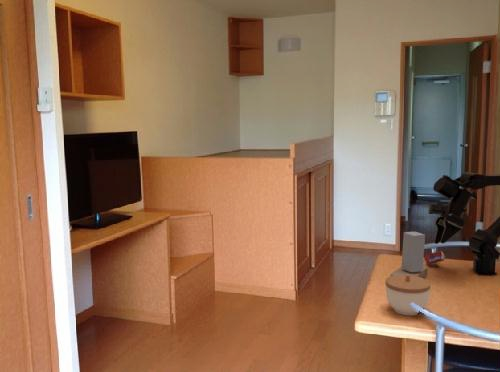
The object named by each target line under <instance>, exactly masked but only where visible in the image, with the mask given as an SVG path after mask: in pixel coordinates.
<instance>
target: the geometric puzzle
mask: <svg viewBox="0 0 500 372" xmlns="http://www.w3.org/2000/svg"><path fill="white" fill-rule="evenodd" d="M423 260H424V261H425V263H426V266H432V267H435V266H436V268H438V267H439V266H440V265H438V264H440V263H443V262H444V261H445V254H444V253H443V251H442V250H441V249H440V250H439V249H438V250H433V248H429V250H428V252H427V253H424V257H423ZM433 265H434V266H433Z"/></svg>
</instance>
